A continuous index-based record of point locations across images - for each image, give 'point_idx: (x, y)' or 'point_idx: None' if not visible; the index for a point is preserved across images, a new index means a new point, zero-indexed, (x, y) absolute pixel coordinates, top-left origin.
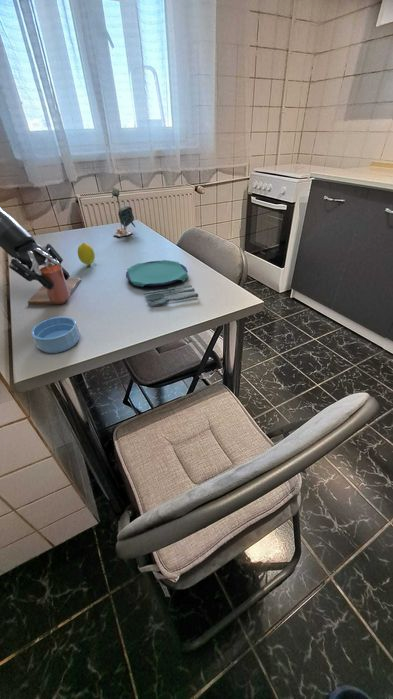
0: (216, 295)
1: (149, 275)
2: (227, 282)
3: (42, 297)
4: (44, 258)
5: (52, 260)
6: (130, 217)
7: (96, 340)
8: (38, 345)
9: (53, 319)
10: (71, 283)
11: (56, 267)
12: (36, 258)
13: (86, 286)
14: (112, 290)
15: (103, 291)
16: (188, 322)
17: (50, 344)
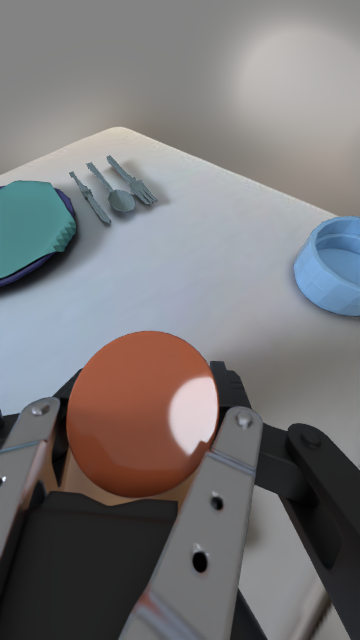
0: (97, 154)
1: (8, 241)
2: (48, 154)
3: (179, 505)
4: (37, 511)
5: (31, 441)
6: None
7: (291, 229)
8: None
9: (339, 278)
10: None
11: (114, 372)
12: (112, 577)
13: (46, 394)
14: (79, 300)
15: (86, 319)
16: (186, 159)
17: None
